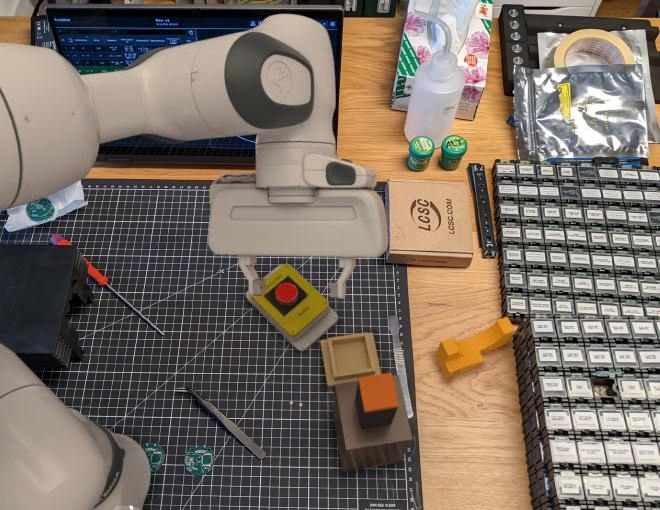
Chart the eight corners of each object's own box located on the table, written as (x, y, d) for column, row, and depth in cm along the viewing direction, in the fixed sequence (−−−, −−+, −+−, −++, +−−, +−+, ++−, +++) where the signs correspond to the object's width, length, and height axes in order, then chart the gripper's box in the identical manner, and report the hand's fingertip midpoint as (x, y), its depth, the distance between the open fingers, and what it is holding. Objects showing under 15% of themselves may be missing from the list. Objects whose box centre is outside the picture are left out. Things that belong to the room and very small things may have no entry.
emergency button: (281, 251, 109) (341, 308, 104) (282, 263, 113) (340, 318, 107) (240, 284, 106) (300, 344, 100) (243, 295, 109) (301, 354, 104)
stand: (342, 472, 95) (345, 450, 81) (332, 414, 99) (334, 384, 85) (399, 463, 96) (413, 439, 82) (387, 406, 100) (398, 374, 86)
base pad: (327, 387, 101) (327, 381, 99) (320, 342, 105) (320, 335, 103) (381, 379, 102) (383, 373, 100) (372, 334, 106) (373, 327, 103)
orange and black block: (360, 429, 82) (364, 411, 74) (354, 398, 84) (358, 377, 77) (391, 424, 83) (398, 405, 75) (385, 393, 85) (391, 372, 77)
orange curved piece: (446, 378, 102) (453, 365, 97) (434, 355, 104) (441, 341, 99) (509, 354, 105) (520, 340, 99) (497, 331, 107) (507, 316, 101)
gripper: (196, 172, 68) (199, 297, 69) (380, 169, 63) (380, 304, 64) (221, 174, 74) (223, 289, 75) (390, 172, 69) (390, 295, 70)
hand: (296, 296), depth 70 cm, fingers open, 8 cm apart
